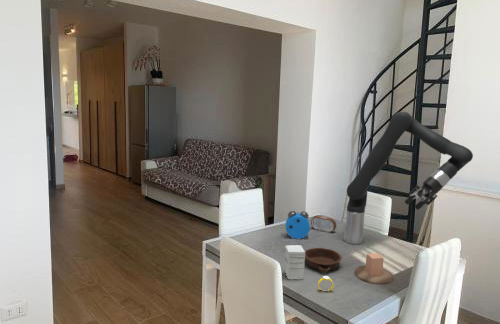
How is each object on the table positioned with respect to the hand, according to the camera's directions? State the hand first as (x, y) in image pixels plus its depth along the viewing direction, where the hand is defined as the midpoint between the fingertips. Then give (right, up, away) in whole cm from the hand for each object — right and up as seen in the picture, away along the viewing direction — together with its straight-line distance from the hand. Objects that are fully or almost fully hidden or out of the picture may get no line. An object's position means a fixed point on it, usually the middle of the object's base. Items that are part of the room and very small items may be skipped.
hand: (410, 205), depth 176 cm
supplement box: (-56, -29, -12) cm, 64 cm away
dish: (-41, -28, 0) cm, 50 cm away
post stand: (-21, -29, -10) cm, 37 cm away
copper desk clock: (-32, -20, +46) cm, 60 cm away
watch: (-45, -31, -25) cm, 60 cm away
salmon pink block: (-21, -28, -10) cm, 36 cm away
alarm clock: (-49, -22, +34) cm, 63 cm away
